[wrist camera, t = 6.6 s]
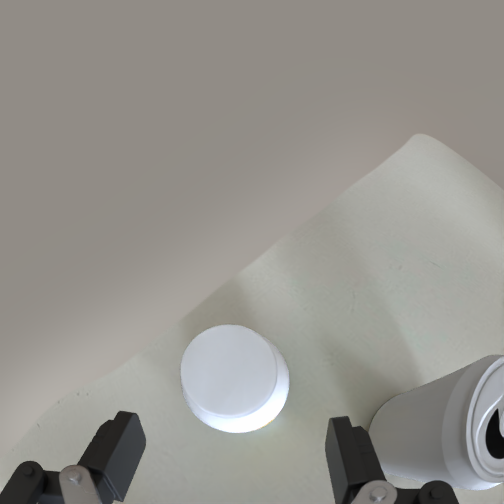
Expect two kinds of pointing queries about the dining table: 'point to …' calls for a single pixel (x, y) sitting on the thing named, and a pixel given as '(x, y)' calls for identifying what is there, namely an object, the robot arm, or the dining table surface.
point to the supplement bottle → (234, 378)
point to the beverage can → (446, 428)
